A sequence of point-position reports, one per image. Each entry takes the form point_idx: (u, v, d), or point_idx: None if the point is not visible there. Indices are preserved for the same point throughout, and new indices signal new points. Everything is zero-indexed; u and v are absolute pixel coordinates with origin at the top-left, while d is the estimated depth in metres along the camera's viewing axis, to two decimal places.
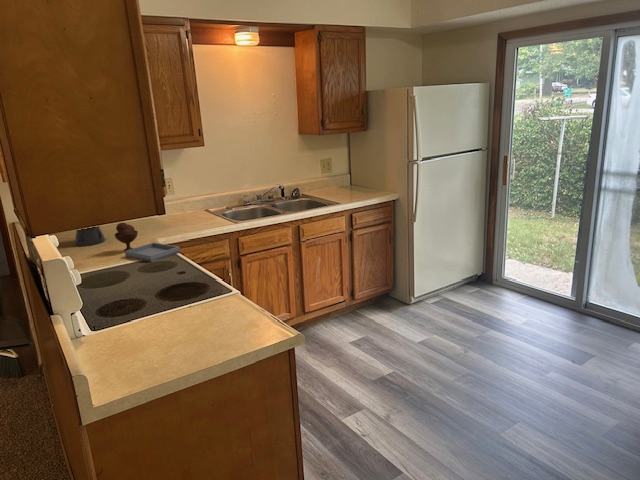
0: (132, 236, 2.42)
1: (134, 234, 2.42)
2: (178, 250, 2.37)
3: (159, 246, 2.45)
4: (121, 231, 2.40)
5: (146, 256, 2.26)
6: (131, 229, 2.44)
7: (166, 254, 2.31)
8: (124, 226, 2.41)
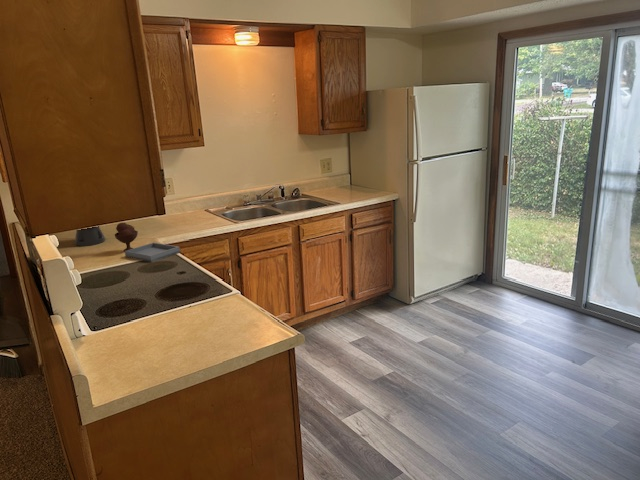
0: (132, 236, 2.42)
1: (134, 234, 2.42)
2: (178, 250, 2.37)
3: (159, 246, 2.45)
4: (121, 231, 2.40)
5: (146, 256, 2.26)
6: (131, 229, 2.44)
7: (166, 254, 2.31)
8: (124, 226, 2.41)
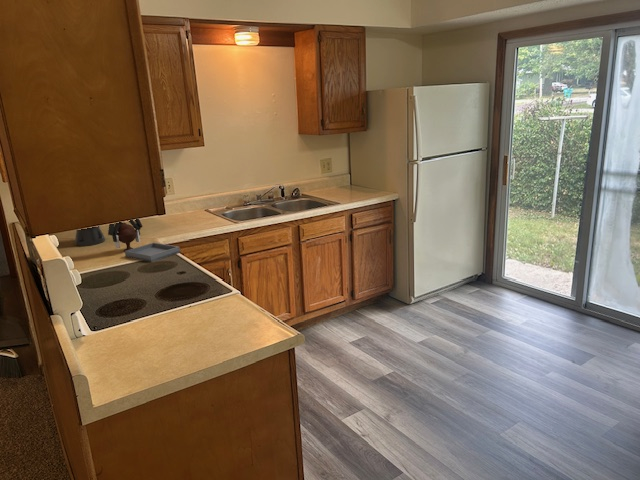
0: (132, 236, 2.42)
1: (134, 234, 2.42)
2: (178, 250, 2.37)
3: (159, 246, 2.45)
4: (121, 231, 2.40)
5: (146, 256, 2.26)
6: (131, 229, 2.44)
7: (166, 254, 2.31)
8: (124, 226, 2.41)
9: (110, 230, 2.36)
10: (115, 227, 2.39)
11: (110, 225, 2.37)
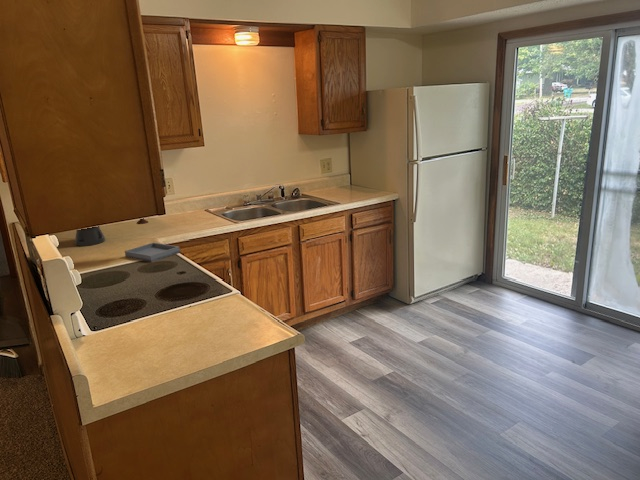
0: None
1: None
2: (178, 250, 2.37)
3: (159, 246, 2.45)
4: None
5: (146, 256, 2.26)
6: None
7: (166, 254, 2.31)
8: None
9: None
10: None
11: None
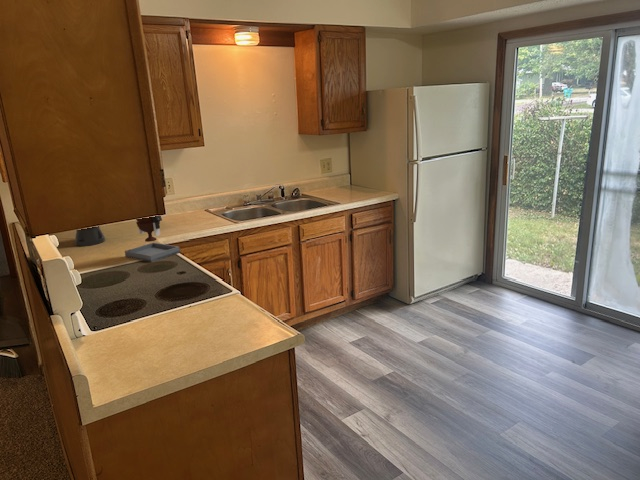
0: (139, 226, 2.29)
1: (140, 225, 2.28)
2: (178, 250, 2.37)
3: (159, 246, 2.45)
4: None
5: (146, 256, 2.26)
6: (144, 219, 2.29)
7: (166, 254, 2.31)
8: None
9: None
10: None
11: None
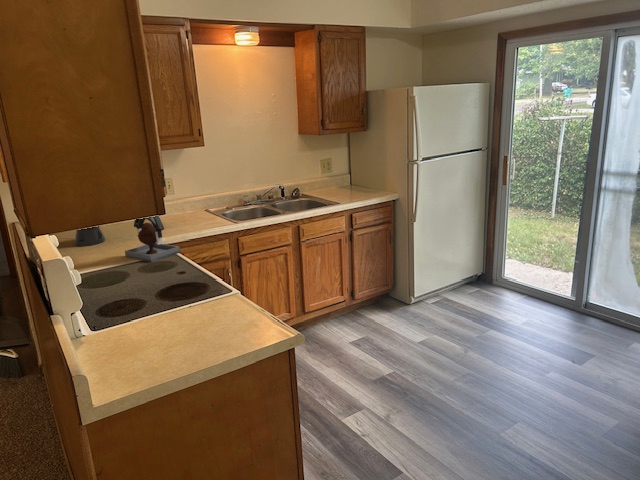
0: (140, 239, 2.31)
1: (141, 238, 2.30)
2: (178, 250, 2.37)
3: (159, 246, 2.45)
4: None
5: (146, 256, 2.26)
6: (146, 232, 2.31)
7: (166, 254, 2.31)
8: (142, 227, 2.32)
9: None
10: None
11: None
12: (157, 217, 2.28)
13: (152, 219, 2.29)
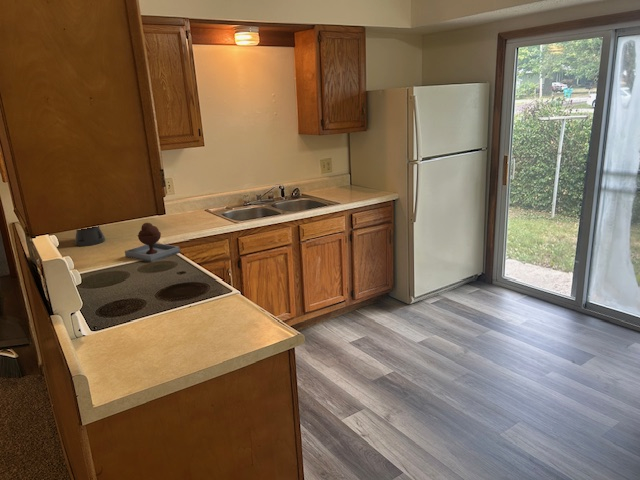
0: (140, 239, 2.31)
1: (141, 238, 2.30)
2: (178, 250, 2.37)
3: (159, 246, 2.45)
4: None
5: (146, 256, 2.26)
6: (146, 232, 2.31)
7: (166, 254, 2.31)
8: (142, 227, 2.32)
9: None
10: None
11: None
12: None
13: None
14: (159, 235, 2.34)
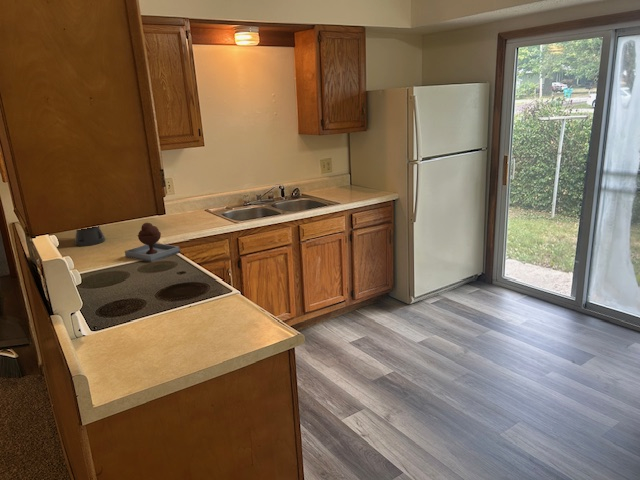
0: (140, 239, 2.31)
1: (141, 238, 2.30)
2: (178, 250, 2.37)
3: (159, 246, 2.45)
4: None
5: (146, 256, 2.26)
6: (146, 232, 2.31)
7: (166, 254, 2.31)
8: (142, 227, 2.32)
9: None
10: None
11: None
12: None
13: None
14: (159, 235, 2.34)
